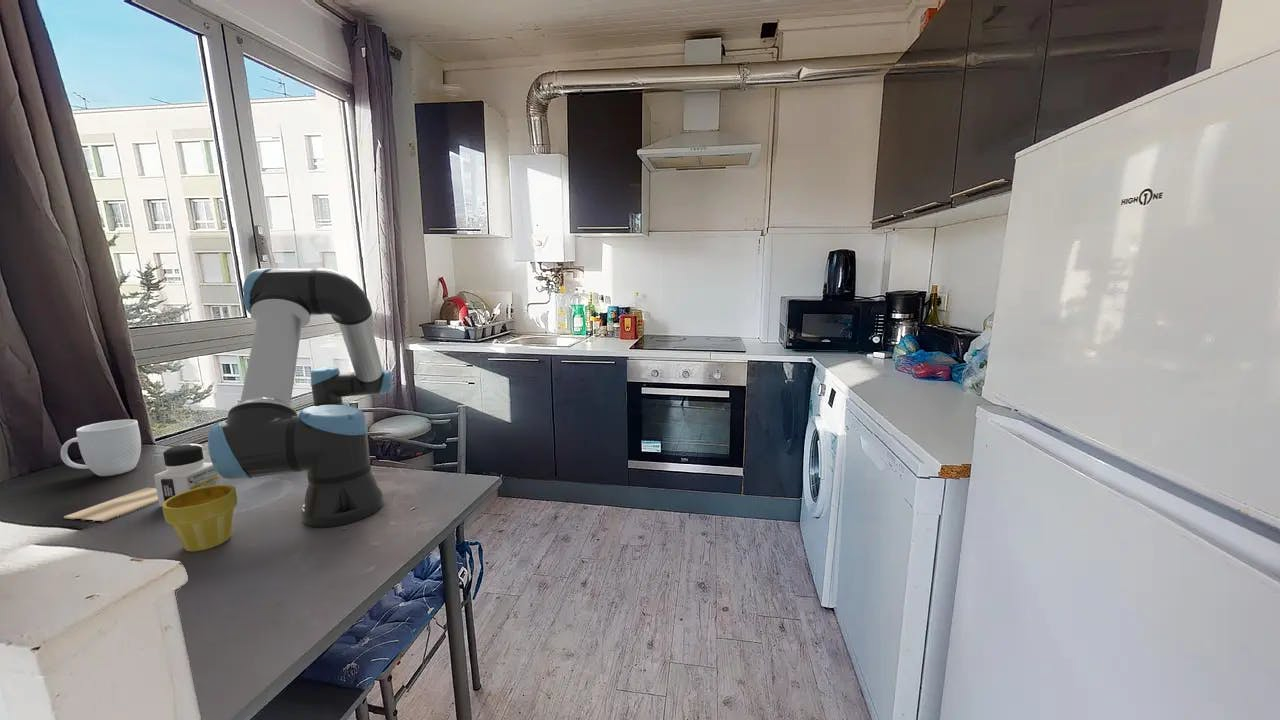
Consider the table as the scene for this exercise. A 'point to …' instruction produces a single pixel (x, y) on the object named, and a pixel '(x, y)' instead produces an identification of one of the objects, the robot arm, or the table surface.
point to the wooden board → (117, 506)
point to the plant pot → (202, 516)
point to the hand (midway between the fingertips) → (229, 451)
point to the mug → (107, 447)
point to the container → (184, 472)
